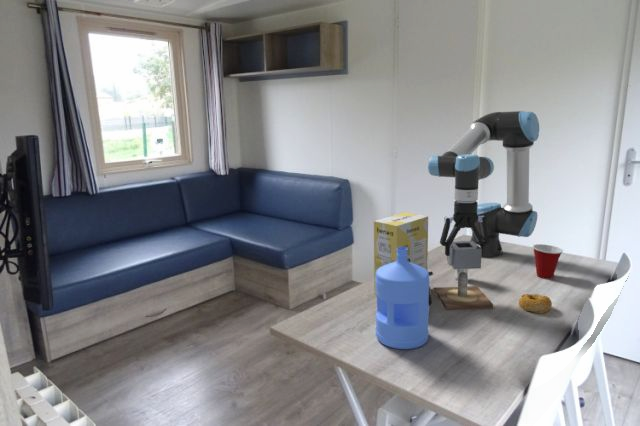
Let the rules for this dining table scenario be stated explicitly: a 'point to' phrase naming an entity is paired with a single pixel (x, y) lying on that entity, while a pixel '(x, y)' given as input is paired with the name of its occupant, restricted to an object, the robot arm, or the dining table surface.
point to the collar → (466, 255)
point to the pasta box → (400, 239)
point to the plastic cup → (546, 260)
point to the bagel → (535, 303)
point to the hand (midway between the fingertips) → (463, 263)
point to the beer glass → (462, 271)
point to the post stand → (462, 296)
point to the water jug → (402, 303)
